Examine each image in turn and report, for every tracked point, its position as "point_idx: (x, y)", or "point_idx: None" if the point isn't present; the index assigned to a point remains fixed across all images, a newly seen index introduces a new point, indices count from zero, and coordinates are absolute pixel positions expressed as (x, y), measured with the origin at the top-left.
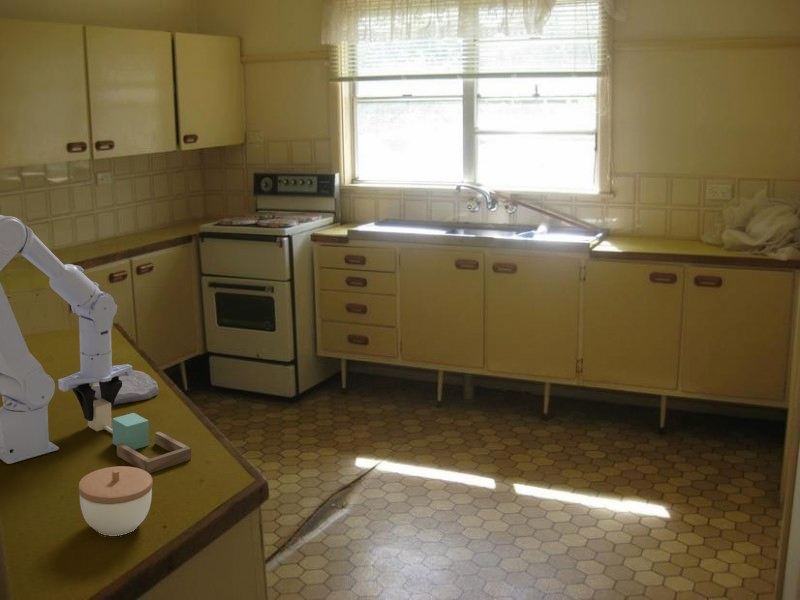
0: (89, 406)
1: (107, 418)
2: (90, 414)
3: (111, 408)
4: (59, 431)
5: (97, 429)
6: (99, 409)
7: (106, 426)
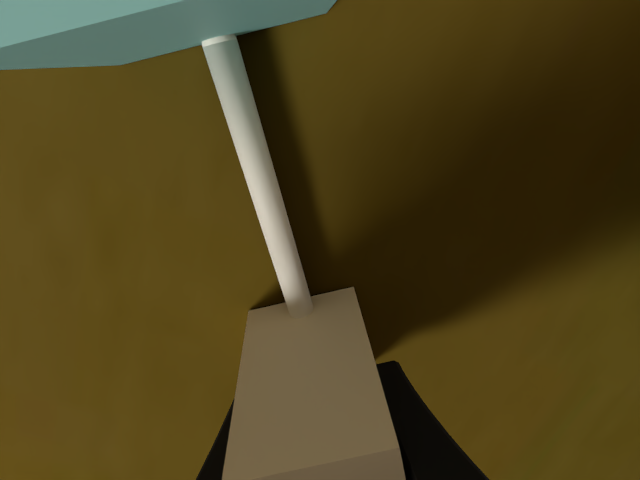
0: (458, 469)
1: (274, 353)
2: (413, 398)
3: (221, 443)
4: (523, 357)
5: (350, 293)
6: (354, 421)
7: (295, 289)
